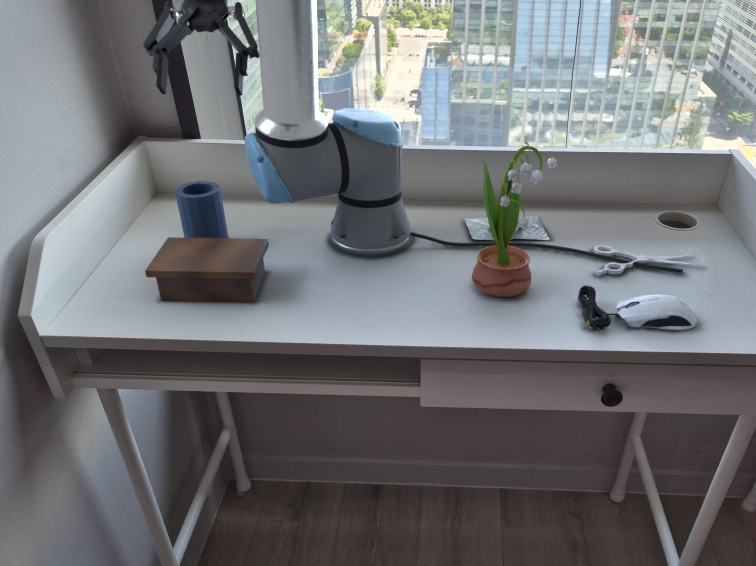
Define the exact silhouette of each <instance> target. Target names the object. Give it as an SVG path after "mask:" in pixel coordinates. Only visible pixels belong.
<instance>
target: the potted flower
mask: <svg viewBox="0 0 756 566" xmlns="http://www.w3.org/2000/svg"><path fill="white" fill-rule="evenodd" d="M527 150H528V154H527V153H526V152H525V151H527ZM531 151H532V152H534V153H535V154H536V155H537V157H538V160H539V170H533V171H532V169H533V168H532V164H531V163H530V158H529V157H530V154H531ZM542 154H545V155H547V156H548V157H549V159H548V160H547V162H546V163H547V165H548V169H549V170H550V169H552V168H556V167H557V166H558V165H559V164H558V163H557V159H556V158H555V157H552V156H551V155H550V154H549V153H548V152H544V151H540V150H538V148H537V147H535V146H531V145H530V144H529V142H528V141H526V140H525V141H524V146H521V147H520V148H519V149H518V150H517V151H516V152H515V153H514V154H513V156H512V157H511V159H510V161H509V163H508V164H507V168H506V170H505V173H504V177H503V181H502V184H501V188H500V193H499V196H498V197H499V198H498V201H497V198H496V194H495V191H494V187H493V183H492V180H491V176H490V173H489V168H488V166H487V163H486V161H485V160H484V159H483V160H482V171H483V205H484V209H485V213H486V217H487V219H488V223H489V226H490V229H491V232H492V235H493V238H494V240H493V241H494V242H495V243H496V245H493V246H484V247H483V248H481V249H480V250H479V251H478V252H477V253H476V260H477V261H476V263H475V265H474V266H473V269H472V274H471V281H472V282H473V284H474V285H475V287H476V288H477V289H478V290H479V291H480V292H481V293H484V294H486V295H489V296H492V297H499V298H508V297H514V296H519V295H520V294H522V293H524V292H525V291H526V290H527V289H528V288H529V287H530V286H531V284H532V271H531V268H530V266H529V265H530V262H531V256H530V255H529V253H528V252H526V251H525V250H524V249H521V248H519V247H518V246H508V244H509V242H511V240H512V239H511V238H512V236H513V234H514V233H515V231H516V228H517V225H518V227H519V228H521V227H522V228H523V229H525V227H528V226H527V224H528V219H527V218H526V217H525V216H526V214H525V213H526V212H525V210H524V207H523V206H522V204H521V202H520V195H522V190H523V185H522V184H521V183H520V178H519V177H523V176H524V177H528V176H529V177H528V178H529V182H530V183H534V185H538V184H539V185H540V184H541V181H542V180H543V176H544V175H543V173H542V172H541V171H542V168H543V157H542ZM521 155H524V156H525V157H526V159H527V162H524V160H523V158H522V157H521ZM517 159H519V161H520V162H521V165H520V164H519V162H518V161H517ZM515 164H516V166H517V168H518V172H519V173H517V171H516V170H514V166H515ZM531 171H532V172H531ZM530 172H531V173H530ZM530 175H531V176H530ZM511 179H512V181H516V180H517V182H514V183H512V188H511V190H510V191H509V193H508V195H507V186H508V180H511ZM520 209H521V210H522V214H523V216H524V217H520V218H519V220H518V217H519V216H520ZM517 223H518V224H517ZM510 239H511V240H510Z"/></svg>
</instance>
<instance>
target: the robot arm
mask: <svg viewBox="0 0 756 566" xmlns="http://www.w3.org/2000/svg"><path fill="white" fill-rule="evenodd" d="M228 2H229V0H183V1H182V3H181V5H180V4H173V3H172V1H171V0H166V1H165V2H164V6H163V10H162V13H161V15H160V16H159V18H158V20H157V21H156V23H155V24H154V25H153V27H152V29H151V30H150V32H149V34H148V35H147V37H146V38H145V40H144V41H143V44H142V46H143V48H144V50H145V52H146V53H147V54H148V56H150V57H152V70H153V72H154V73H155V75H156V84H155V87H156V88H157V89H158V91H159V92H160V94H161V95H167V88H168V87H167V86H168V75H169V74H168V73H169V59H168V57H167V56H168V55H169V54H170V53H171V52H172V51H173V50H174V49H175V48H176V47H178V45H179V44H180V43H181V42H182V41H184V39H185V38H186V37H187V36H190V35H192V34H193V33H194V32H195V31H196V33H203V32H208V33H215V32H216V31H217V30H218V32H220V33H221V35H222V36H223V37H224V38H225V39H226V40H227V41H228V42H229V44H230V45H231V46H232V47H233V48H234V49H235V51H236V52H235V64H234V80H233V81H234V83H233V85H234V86H233V88H234V91H235V92H236V94H237V96H239V97H241V96H243V92H244V91H243V90H244V89H243V88H244V77H248V76H249V74H250V66H251V65H250V64H251V60H252V59H253V58H255V59H259V66H260V79H261V81H260V82H261V92H262V94H261V95H262V110H261V111H260V112H258V113H257V115H256V116H255V118H254V126H255V127H254V129H255V131H254V132H249V133H248V134H246V135H245V136H244V148H245V153H246V157H247V161H248V165H249V168H250V171H251V173H252V177H253V179H254V182H255V184H256V187H257V189H258V190H259V193H260V194H261V196H262V197H263V198H264V199H265V201H267V202H268V203H269V204H273V205H276V204H277V205H278V204H284V203H290V204H293V203H295V202H299V201H304V200H305V201H306V200H309V199H316V198H321V197H326V196H332V195H337V203H336V208H335V211H334V215H333V218H332V220H331V222H330V225H329V226H330V227H329V228H330V242H331V244H332V246H333V247H334V248H336V249H337V250H339V251H340V252H343V253H346V254H349V255H351V256H357V257H381V256H382V257H383V256H389V255H391V254H396V253H398V252H401V251H402V250H403V251H404V250H405V249H406V248H407V247H408V246H410V244H411V243H412V239H413V238H414V237H415V238H418V239H421V240H422V239H423V240H426V241H430V242H433V243H437V244H439V245H444V246H450V247H488V246H493V245H496V243H495V241H493V242H492V241H485V242H484V241H480V242H479V241H477V242H475V241H474V242H455V241H446V240H442V239H440V238H436V237H433V236H430V235H425V234H421V233H418V232H417V233H416V232H413V230H412V226H411V222H410V220H409V216H408V214H407V210H406V208H405V205H404V202H403V147H404V145H403V140H402V139H403V137H402V128H401V123H400V122H399V121H398V119H396V118H395V117H394V116H392V115H391V114H388V113H385V112H382V111H378V110H374V109H367V108H360V107H359V108H356V107H355V108H354V107H348V108H340V109H338V110H335V111H334V112H333V115H332V117H331V120H332V122H328V119H327V117H326V116H325V115H324V114H323V113H322V112H321V111H320V110H319V71H318V69H319V67H318V66H319V65H318V9H317V8H318V4H317V0H255V12H256V24H257V41H258V44H257V41H256V39H255V37H254V35H253V32H252V31H251V29H250V27H249V25H248V23H247V21H246V13H245V10H244V7H243V5H242V2H240V1H236V2H235V3H234V5H231V6H228ZM180 15H181V16H180ZM179 16H180V17H179ZM229 16H231V17H232V18H233V19H234V20H235V21H237V23H238V25H239V27H240V29H241V31H242V33H243V35H244V38H245V39H246V42H247V44H248V47H247V45H245V44H244V43H243V41H242V40H241V39H240V38H239V37H238V36H237V35H236V33H235V32H234V31H233V30H232V28H230V26H229V25H228V24H227V22H226V20H228V19H229ZM176 20H177V23H176V24H175V25H174V23H175V21H176ZM508 246H513V247H527V248H539V249H547V250H548V249H549V250H555V251H562V252H567V253H569V252H570V253H573V254H578V255H583V256H589V257H593V258H598V259H603V260H608V261H611V262H615V263H620V264H623V263H630V262H632V261H633V260H630V259H629V260H628V259H624V258H620V257H615V256H607V255H602V254H597V253H594V252H592V251H587V250H583V249H577V248H573V247H566V246H559V245H554V244H546V243H535V242H517V241H509V244H508ZM633 266H635V267H639V268H645V269H649V270H651V269H652V270H657V271H665V272H671V273H679V274H683V273H684V268H676V267H671V266H664V265H656V264H649V263H639V262H634V263H633Z"/></svg>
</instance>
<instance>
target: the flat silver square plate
mask: <svg viewBox="0 0 756 566" xmlns="http://www.w3.org/2000/svg"><path fill="white" fill-rule="evenodd" d="M512 185H513V180H512V179H511V180H508V184H507V188H506V191H507V195H508V193H509V191H510V190H511V188H512ZM520 217H524V215H521V216H520V215H519V217H518V220H519V218H520ZM525 217H526V218H527V219H528V224H527V226H528V227H525V229H523V228H522V227H521V228H519V227H518V225H517V228H516V231H515V233H514V234H513V236H512V238H511V239H510V241H511V240H540V241H551V238H550V236H549V235H548V234H547V232H546V230H545V228H544V226H543V225H542V223H541V221H540V219H539V217H538V216H537V215H525ZM463 219H464V223H465V225H466V227H467V229H468V231H469V234H470V236H471V238H472V240H479V241H480V240H483V241H495V240H494V238H493V235H492V232H491V229H490V226H489V223H488V219H487V216H485V217H472V218H470V217H469V218H463ZM517 224H518V223H517Z"/></svg>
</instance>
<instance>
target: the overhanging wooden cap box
mask: <svg viewBox="0 0 756 566" xmlns="http://www.w3.org/2000/svg"><path fill="white" fill-rule="evenodd" d="M269 245H270V243H269V239H268V238H237V237H235V238H233V237H231V238H229V237H228V238H184V237H170V236H169V237H166V239H165V241H164V243H162V245H161V246H160V248H159V250H158V251H157V252H156V254H155V255H154V257H153V258H152V260H151V261H150V263H149V264H148V265H147V267H146V269H145V270H144V273H145V277H146V278H155V280H156V285H157V288H158V292H159V297H160V301H162V302H214V303H215V302H218V303H221V302H223V303H254V302H255V300H256V297H257V294H258V292H259V289H260V287H261V284H262V283H263V280H264V277H265V276H266V275H265V274H266V268H265V260H264V257H265V255H266V253H267V250H268V249H269Z"/></svg>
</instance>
